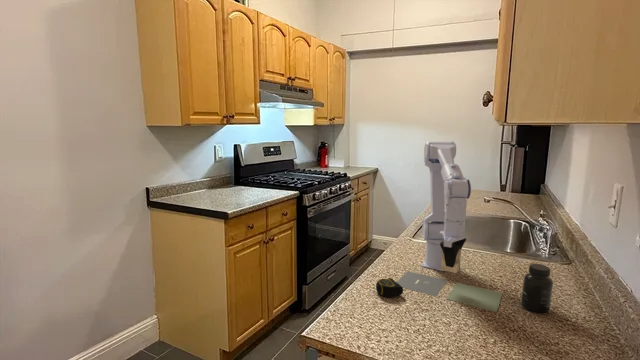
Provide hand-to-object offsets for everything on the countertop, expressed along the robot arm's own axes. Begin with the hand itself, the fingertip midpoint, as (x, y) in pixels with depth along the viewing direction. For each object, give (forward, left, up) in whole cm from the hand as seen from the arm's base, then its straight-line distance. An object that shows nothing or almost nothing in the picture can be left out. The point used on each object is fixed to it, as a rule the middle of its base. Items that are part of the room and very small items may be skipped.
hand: (451, 263), depth 106 cm
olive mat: (0, +7, -8) cm, 11 cm away
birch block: (0, 0, -2) cm, 2 cm away
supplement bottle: (-2, +22, -9) cm, 24 cm away
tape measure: (+12, -15, -9) cm, 21 cm away
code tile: (0, -9, -8) cm, 12 cm away
